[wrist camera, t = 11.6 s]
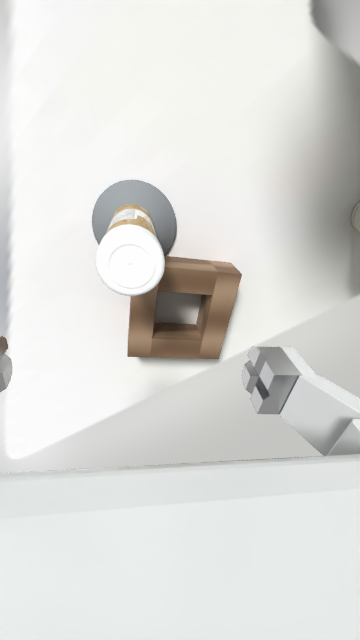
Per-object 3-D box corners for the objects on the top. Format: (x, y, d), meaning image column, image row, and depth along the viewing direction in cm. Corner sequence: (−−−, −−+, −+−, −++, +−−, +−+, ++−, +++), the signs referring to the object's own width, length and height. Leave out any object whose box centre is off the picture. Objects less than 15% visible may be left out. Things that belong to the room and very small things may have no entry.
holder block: (133, 252, 30) (133, 263, 27) (230, 262, 33) (241, 274, 29) (128, 338, 36) (127, 356, 33) (211, 341, 39) (218, 358, 35)
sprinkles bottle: (158, 239, 30) (174, 286, 18) (120, 251, 30) (111, 306, 18) (145, 196, 27) (152, 220, 16) (103, 210, 27) (81, 243, 16)
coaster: (91, 172, 26) (91, 173, 26) (181, 187, 28) (181, 187, 27) (93, 261, 30) (92, 262, 30) (170, 268, 32) (170, 269, 32)
